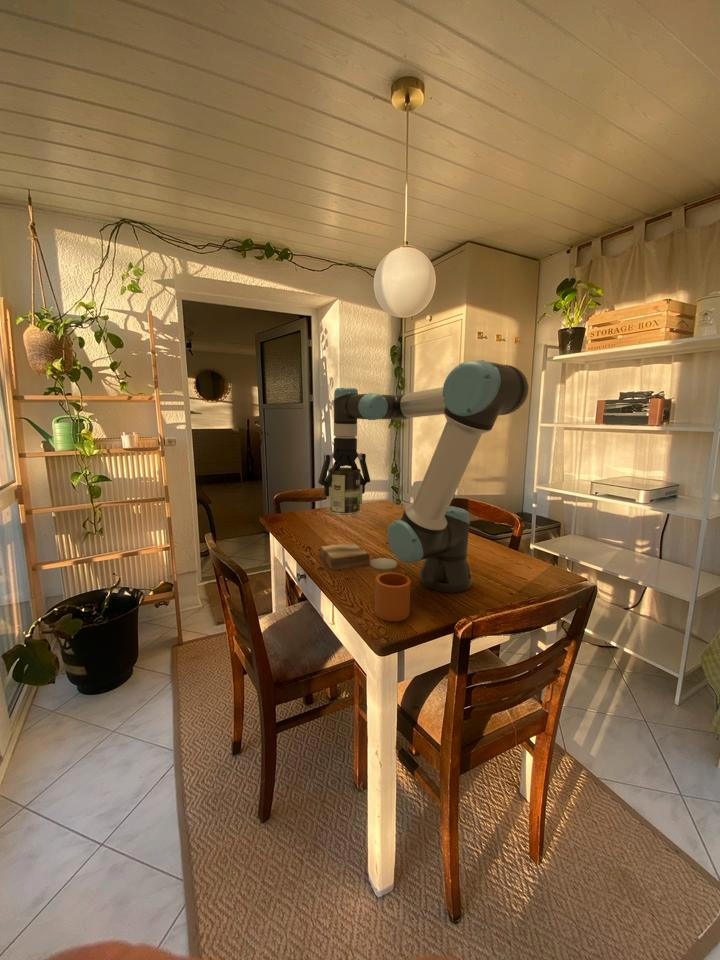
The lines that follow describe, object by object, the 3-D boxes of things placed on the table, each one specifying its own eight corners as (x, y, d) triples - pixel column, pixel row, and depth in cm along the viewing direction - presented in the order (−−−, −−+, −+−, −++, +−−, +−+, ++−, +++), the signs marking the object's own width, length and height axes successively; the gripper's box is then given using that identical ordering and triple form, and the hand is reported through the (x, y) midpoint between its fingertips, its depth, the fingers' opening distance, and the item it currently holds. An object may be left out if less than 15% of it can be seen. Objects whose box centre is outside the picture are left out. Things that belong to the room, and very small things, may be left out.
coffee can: (360, 507, 137) (360, 467, 135) (359, 515, 127) (360, 472, 124) (330, 507, 137) (330, 466, 135) (327, 515, 127) (327, 471, 125)
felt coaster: (402, 567, 130) (402, 565, 130) (377, 571, 126) (377, 569, 126) (389, 557, 138) (389, 556, 138) (365, 561, 134) (365, 560, 134)
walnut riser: (369, 564, 132) (369, 554, 131) (332, 570, 126) (332, 559, 126) (354, 551, 143) (354, 541, 143) (319, 556, 138) (319, 546, 138)
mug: (394, 596, 109) (396, 565, 108) (415, 618, 98) (418, 584, 97) (364, 601, 106) (365, 569, 105) (382, 624, 95) (384, 589, 94)
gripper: (372, 436, 136) (370, 499, 139) (307, 436, 127) (308, 504, 130) (382, 437, 129) (380, 504, 133) (315, 438, 120) (315, 510, 124)
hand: (344, 504), depth 132 cm, fingers closed on coffee can, 10 cm apart
